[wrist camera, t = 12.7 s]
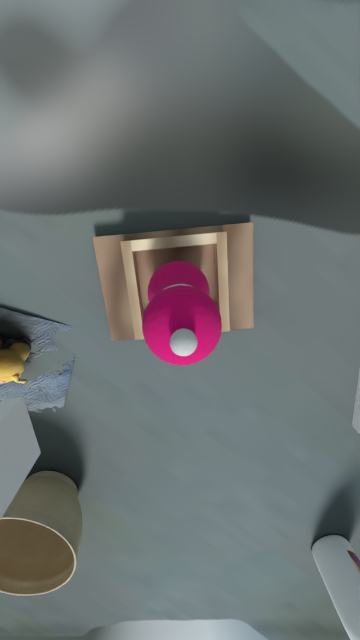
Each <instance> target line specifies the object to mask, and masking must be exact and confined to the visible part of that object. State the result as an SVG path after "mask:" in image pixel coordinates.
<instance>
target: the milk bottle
mask: <svg viewBox="0 0 360 640" xmlns="http://www.w3.org/2000/svg"><path fill="white" fill-rule="evenodd" d="M312 555H313V557H314V560H315V562H316V564H317V567H318V569H319V571H320V574H321V576H322V578H323V581H324V583H325V585H326V587H327V590H328V592H329V594H330V597H331V599H332V601H333V603H334V606H335V608H336V610H337V612H338V615H339V617H340V619H341V621H342V623H343V626H344V628H345V630H346V632H347V634H348V635H349V637H350V639H351V640H360V561H359V559H358V558H357V556H356V554H355V552H354V550H353V549H352V547H351V545H350V544H349V542H348V541H347V540H346V539H345V538H344V537H342V536H339V535H328V536H325V537H322V538H320V539H319V540H317V541H316V542H315V543H314V545H313V547H312Z"/></svg>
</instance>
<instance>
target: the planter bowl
mask: <svg viewBox="0 0 360 640" xmlns="http://www.w3.org/2000/svg"><path fill="white" fill-rule="evenodd" d="M77 497H78V490H77V487H76V485H75V483H74V482H73V481H72V480H71V479H70V478H69V477H67V476H66V475H64V474H62V473H59V472H55V471H40V472H37V473H34V474H33V475H31V476H30V477H28V479H27V480H25V481H24V482H23V483H22V485H21V487H20V488H19V490H18V492H17V493H16V495H15V497H14V498H13V500H12V502H11V503H10V505H9V506H8V508H7V510H6V511H5V513H4V515H3V516H2V518H1V520H0V592H3V593H7V594H12V595H25V596H26V595H38V594H44V593H48V592H51V591H54V590H56V589H58V588H60V587H61V586H63V585H64V584H65V583H66V582H67V581H68V580H69V579H70V578H71V577H72V575H73V573H74V571H75V568H76V564H77V559H78V551H79V547H80V542H81V536H82V513H81V507H80V503H79V500H78V498H77Z"/></svg>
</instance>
